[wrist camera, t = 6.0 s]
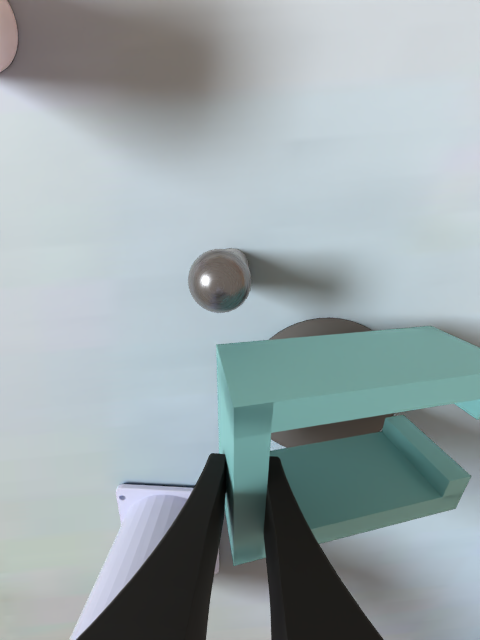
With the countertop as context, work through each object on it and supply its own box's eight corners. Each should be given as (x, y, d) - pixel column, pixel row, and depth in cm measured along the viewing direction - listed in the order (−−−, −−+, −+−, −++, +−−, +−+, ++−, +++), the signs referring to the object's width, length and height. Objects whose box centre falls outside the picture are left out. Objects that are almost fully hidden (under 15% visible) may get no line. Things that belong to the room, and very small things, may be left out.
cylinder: (251, 286, 16) (250, 321, 9) (211, 286, 16) (182, 320, 9) (252, 244, 15) (252, 251, 8) (210, 244, 15) (178, 249, 9)
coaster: (384, 452, 19) (386, 457, 18) (244, 446, 19) (244, 450, 19) (414, 319, 16) (418, 322, 15) (247, 315, 16) (247, 317, 16)
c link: (394, 443, 16) (455, 508, 13) (219, 476, 14) (233, 565, 11) (430, 325, 13) (524, 367, 10) (216, 344, 11) (234, 407, 8)
